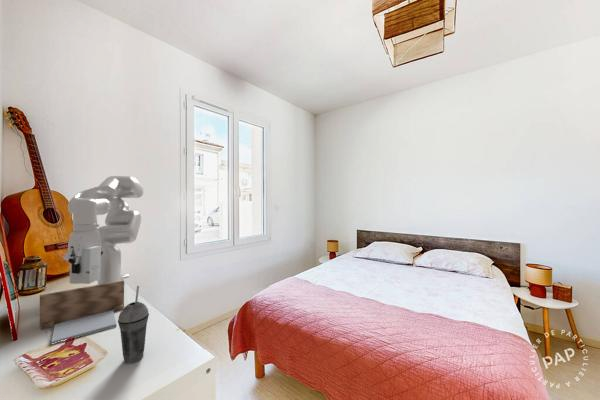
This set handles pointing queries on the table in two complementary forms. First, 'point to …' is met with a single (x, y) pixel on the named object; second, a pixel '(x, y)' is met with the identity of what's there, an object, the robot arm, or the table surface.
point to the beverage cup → (133, 330)
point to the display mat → (83, 326)
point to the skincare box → (87, 266)
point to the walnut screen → (80, 303)
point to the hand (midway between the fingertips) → (85, 270)
